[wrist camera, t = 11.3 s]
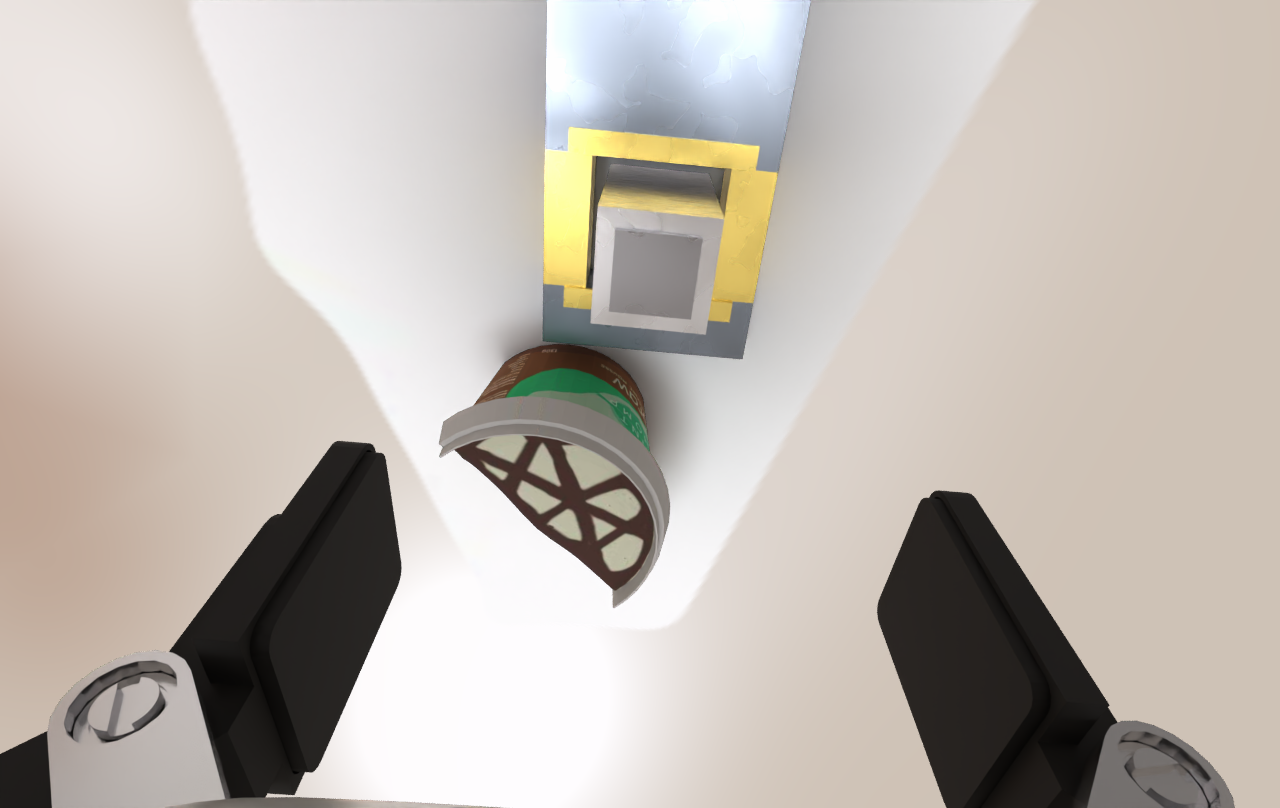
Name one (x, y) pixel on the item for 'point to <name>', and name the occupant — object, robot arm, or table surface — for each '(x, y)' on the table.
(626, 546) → the food container
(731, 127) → the grey peg hole board
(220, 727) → the robot arm
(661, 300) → the grey rectangular block
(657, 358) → the table surface
